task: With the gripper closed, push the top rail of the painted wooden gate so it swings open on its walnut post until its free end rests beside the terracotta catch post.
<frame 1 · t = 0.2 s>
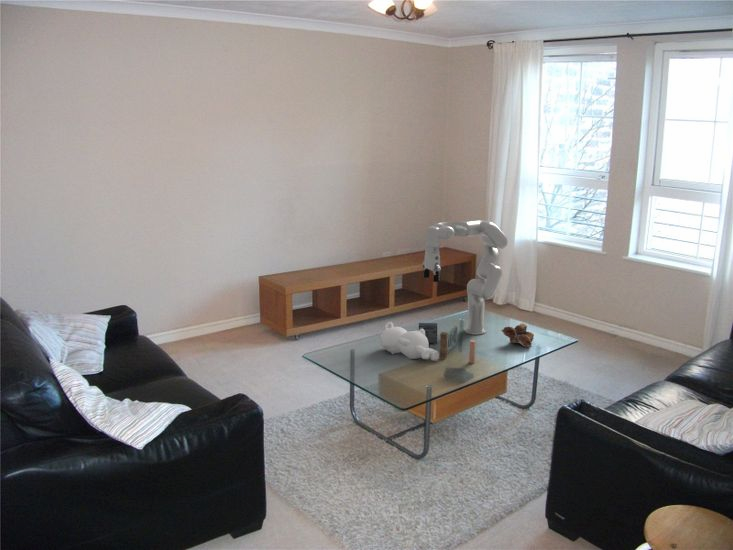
hand: (431, 279, 365), 36 cm above the table, tool pointing down, fingers open, 9 cm apart
gate post: (443, 358, 351), on the table
teddy bear: (407, 356, 355), on the table
gate: (450, 339, 359), point 6 cm above the table, hinge at 0.0°
small box: (427, 342, 374), on the table
catch post: (471, 362, 345), on the table
seed pod: (520, 344, 370), on the table
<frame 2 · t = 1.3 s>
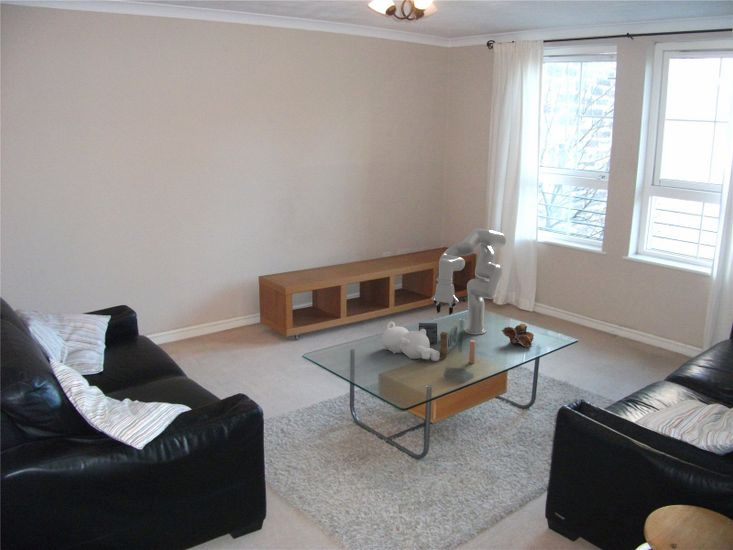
hand: (444, 312, 362), 20 cm above the table, tool pointing down, fingers open, 6 cm apart
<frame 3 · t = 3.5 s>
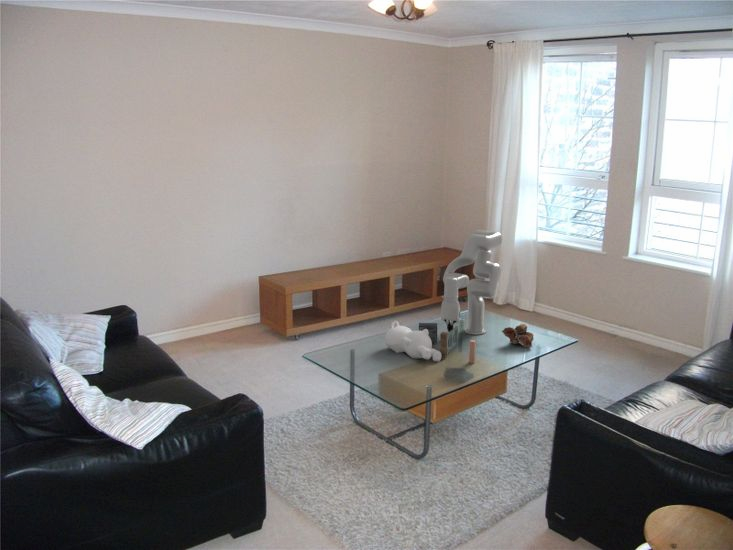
hand: (450, 331, 363), 10 cm above the table, tool pointing down, fingers closed
teddy bear: (410, 355, 355), on the table
gate: (450, 339, 359), point 7 cm above the table, hinge at 1.8°, touching gripper
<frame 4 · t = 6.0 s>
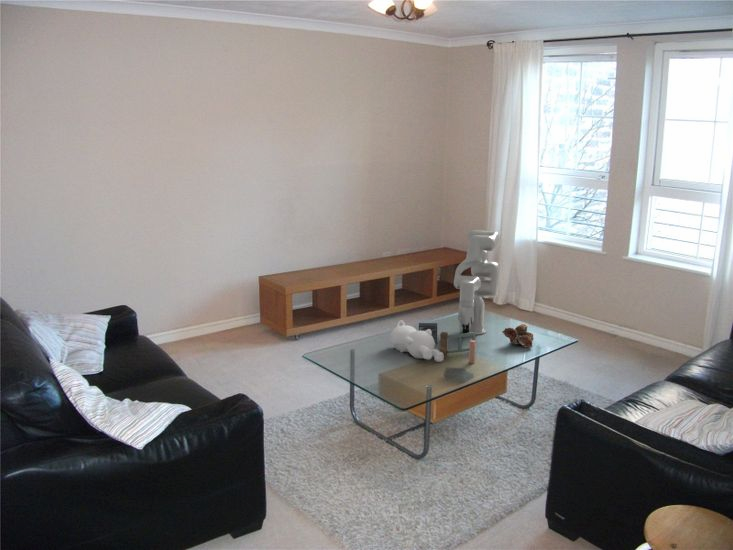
hand: (465, 335, 357), 9 cm above the table, tool pointing down, fingers closed
teddy bear: (414, 355, 356), on the table
gate: (459, 342, 354), point 6 cm above the table, hinge at 46.2°, touching gripper
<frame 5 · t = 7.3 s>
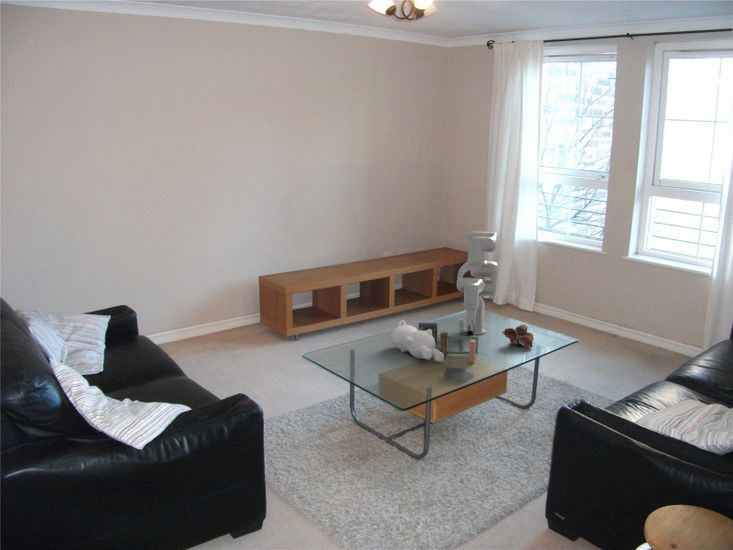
hand: (469, 338, 353), 10 cm above the table, tool pointing down, fingers closed
gate: (460, 344, 351), point 6 cm above the table, hinge at 66.9°, touching gripper
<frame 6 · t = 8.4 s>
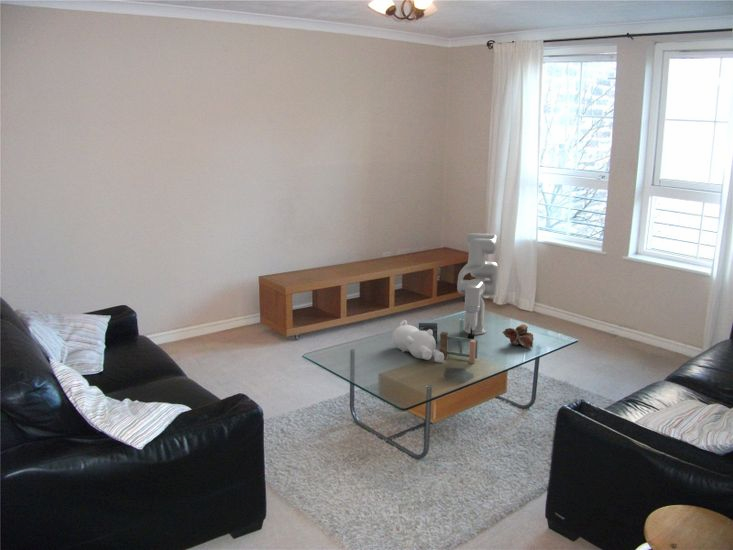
hand: (470, 341, 349), 9 cm above the table, tool pointing down, fingers closed
gate: (460, 346, 349), point 6 cm above the table, hinge at 86.4°, touching gripper
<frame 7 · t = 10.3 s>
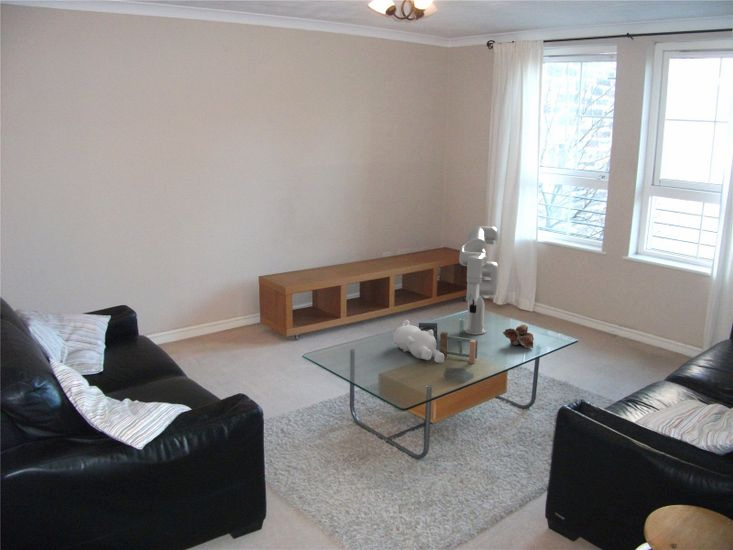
hand: (472, 312, 351), 23 cm above the table, tool pointing down, fingers closed
gate: (460, 346, 349), point 7 cm above the table, hinge at 86.6°
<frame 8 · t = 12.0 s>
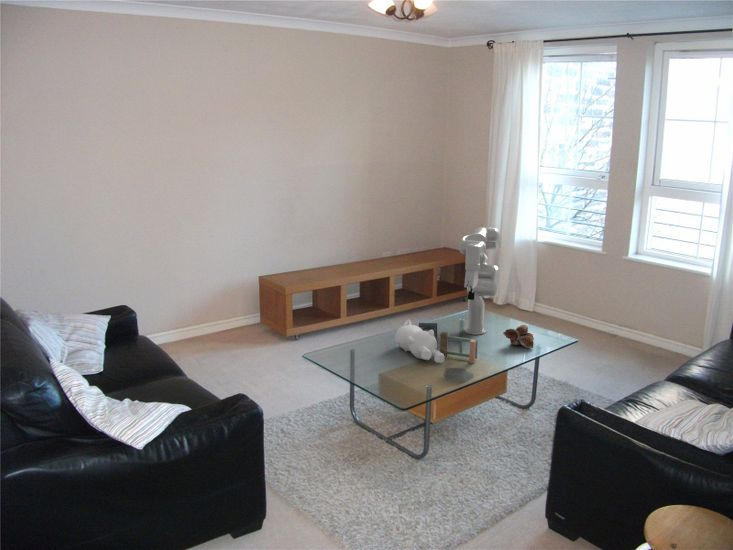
hand: (471, 299, 361), 27 cm above the table, tool pointing down, fingers closed
at the end: gate at +87° (first picture: +0°) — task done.
